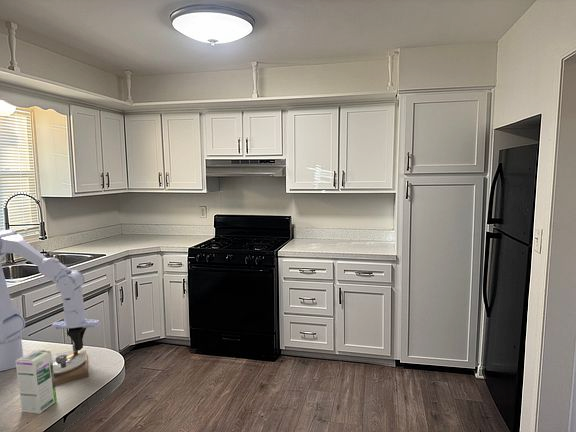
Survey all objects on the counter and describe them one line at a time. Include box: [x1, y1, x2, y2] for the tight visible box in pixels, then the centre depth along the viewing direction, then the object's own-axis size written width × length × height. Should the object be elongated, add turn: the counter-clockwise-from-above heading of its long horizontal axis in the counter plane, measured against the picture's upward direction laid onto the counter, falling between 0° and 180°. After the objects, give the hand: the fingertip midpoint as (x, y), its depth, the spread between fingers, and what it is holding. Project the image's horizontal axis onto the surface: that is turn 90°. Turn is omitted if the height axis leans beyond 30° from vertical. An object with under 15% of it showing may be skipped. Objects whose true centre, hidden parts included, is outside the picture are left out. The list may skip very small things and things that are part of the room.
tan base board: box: [54, 349, 89, 386], centre depth 121 cm, size 17×14×2 cm
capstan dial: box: [51, 343, 85, 376], centre depth 121 cm, size 13×13×4 cm
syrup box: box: [15, 349, 58, 415], centre depth 101 cm, size 6×6×14 cm
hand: (79, 349), depth 125 cm, fingers closed, pressing on capstan dial
